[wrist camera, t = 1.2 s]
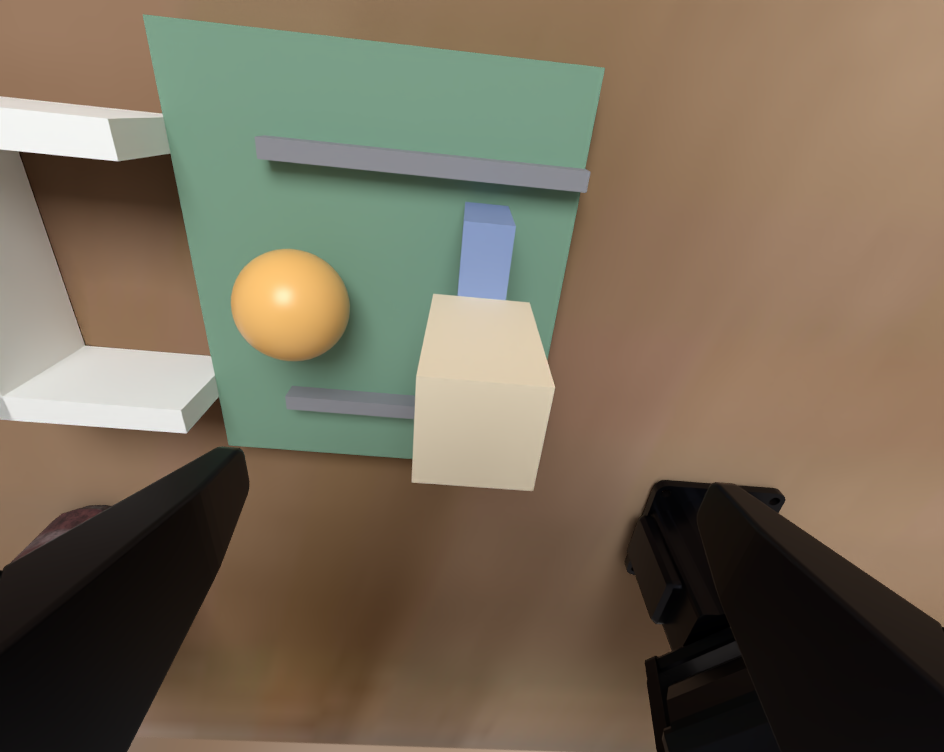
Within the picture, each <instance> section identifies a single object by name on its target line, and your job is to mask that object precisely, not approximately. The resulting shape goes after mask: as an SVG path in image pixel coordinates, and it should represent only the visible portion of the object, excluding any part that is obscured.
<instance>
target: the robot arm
mask: <svg viewBox="0 0 944 752" xmlns="http://www.w3.org/2000/svg"><path fill="white" fill-rule="evenodd" d="M664 490H666V491H664ZM248 491H249V477H248V471H247V466H246V460H245V455H244V452H243V451H242V450H241V449H240V448H234V447H217V448H215V449H213V450H211V451H209V452H208V453H206V454H204V455H202V456H201V457H199V458H197V459H195V460H193V461H192V462H190V463H188V464H186V465H185V466H183V467H181V468H179V469H177V470H176V471H174V472H172V473H170V474H168V475H167V476H165V477H163V478H161V479H160V480H158V481H156V482H154V483H152V484H151V485H149V486H147V487H145V488H144V489H142V490H140V491H138V492H136V493H135V494H133V495H131V496H129V497H127V498H126V499H124V500H122V501H120V502H119V503H117V504H115V505H113V506H111V507H110V508H108V509H106V510H104V511H103V512H101V513H99V514H97V515H95V516H94V517H92V518H90V519H88V520H86V521H85V522H83V523H81V524H79V525H78V526H76V527H74V528H72V529H70V530H69V531H67V532H65V533H63V534H61V535H60V536H58V537H56V538H54V539H53V540H51V541H49V542H47V543H45V544H44V545H42V546H40V547H38V548H36V549H35V550H33V551H31V552H29V553H28V554H26V555H24V556H22V557H20V558H19V559H17V560H15V561H13V562H11V563H10V564H8V565H6V566H5V567H4V568H3V571H2V570H0V752H127V751H128V749H129V747H130V745H131V743H132V741H133V739H134V737H135V735H136V733H137V731H138V729H139V727H140V725H141V723H142V721H143V719H144V717H145V715H146V713H147V712H148V710H149V708H150V706H151V704H152V702H153V700H154V698H155V696H156V694H157V692H158V690H159V688H160V686H161V684H162V682H163V680H164V678H165V676H166V674H167V672H168V670H169V668H170V666H171V664H172V662H173V660H174V658H175V656H176V654H177V652H178V650H179V648H180V646H181V644H182V642H183V640H184V638H185V636H186V634H187V632H188V630H189V628H190V627H191V625H192V623H193V621H194V619H195V617H196V615H197V613H198V611H199V609H200V607H201V605H202V603H203V601H204V599H205V597H206V595H207V593H208V591H209V589H210V587H211V585H212V583H213V581H214V579H215V577H216V575H217V573H218V571H219V568H220V566H221V564H222V561H223V559H224V556H225V553H226V551H227V548H228V545H229V543H230V540H231V537H232V535H233V532H234V529H235V527H236V524H237V521H238V519H239V516H240V513H241V511H242V508H243V505H244V503H245V500H246V497H247V495H248ZM662 491H664V492H662ZM784 502H785V497H784V495H783V494H782V493H781V492H780V491H779V490H778V489H775V488H764V487H750V486H737V485H735V484H732V483H719V482H715V483H712V484H710V483H696V482H683V481H669V480H663V481H660V482H658V483H656V484H655V485H654V487H653V489H652V492H651V494H650V497H649V500H648V502H647V505H646V507H645V510H644V513H643V515H642V516H641V517H640V519H639V520H638V523H637V525H636V528H635V531H634V533H633V536H632V539H631V541H630V544H629V547H628V549H627V553H628V555H627V558H626V560H625V567H626V570H627V572H628V573H630V574H633V575H635V576H636V579H637V581H638V584H639V587H640V590H641V593H642V596H643V598H644V601H645V604H646V607H647V610H648V613H649V616H650V618H651V619H652V621H653V622H654V623H655V624H662V625H663V628H664V631H665V633H666V636H667V639H668V642H669V644H670V647H671V650H672V651H671V652H669V653H667V654H664V655H662V656H660V657H657V656H654V657H652V658H649V659H647V660H645V667H646V674H647V687H648V694H649V701H650V708H651V715H652V722H653V729H654V735H655V742H656V749H657V752H944V627H942V626H941V624H940V623H939V622H938V621H936V620H935V619H933V618H932V617H930V616H929V615H927V614H926V613H924V612H923V611H921V610H920V609H918V608H917V607H915V606H914V605H913V604H911V603H910V602H908V601H907V600H905V599H904V598H902V597H901V596H899V595H898V594H896V593H895V592H893V591H892V590H890V589H889V588H888V587H886V586H885V585H883V584H882V583H880V582H879V581H877V580H876V579H874V578H873V577H871V576H870V575H868V574H867V573H865V572H864V571H862V570H861V569H860V568H858V567H857V566H855V565H854V564H852V563H851V562H849V561H848V560H846V559H845V558H843V557H842V556H840V555H839V554H837V553H836V552H835V551H833V550H832V549H830V548H829V547H827V546H826V545H824V544H823V543H821V542H820V541H818V540H817V539H815V538H814V537H812V536H811V535H809V534H808V533H807V532H805V531H804V530H802V529H801V528H799V527H798V526H796V525H795V524H793V523H792V522H790V521H789V520H787V519H786V518H784V517H783V516H782V515H780V514H779V511H780V509H781V507H782V506H783V504H784Z"/></svg>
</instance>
